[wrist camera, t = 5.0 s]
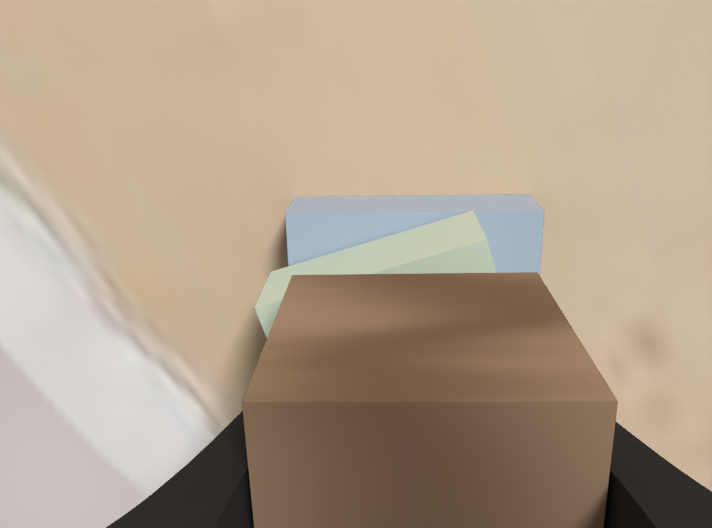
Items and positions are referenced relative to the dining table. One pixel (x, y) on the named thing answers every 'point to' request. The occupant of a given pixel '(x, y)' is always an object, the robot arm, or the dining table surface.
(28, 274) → the dining table surface
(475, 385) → the walnut cube
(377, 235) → the slate slab
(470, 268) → the sage block
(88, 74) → the dining table surface
